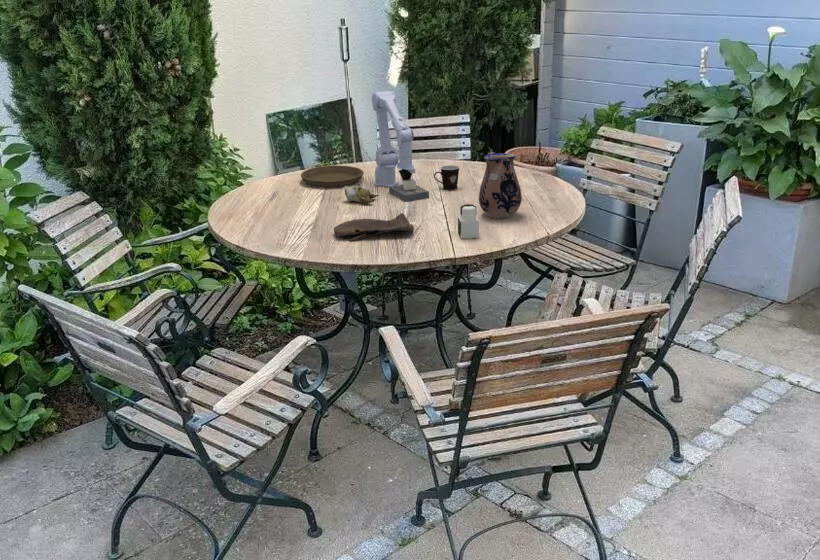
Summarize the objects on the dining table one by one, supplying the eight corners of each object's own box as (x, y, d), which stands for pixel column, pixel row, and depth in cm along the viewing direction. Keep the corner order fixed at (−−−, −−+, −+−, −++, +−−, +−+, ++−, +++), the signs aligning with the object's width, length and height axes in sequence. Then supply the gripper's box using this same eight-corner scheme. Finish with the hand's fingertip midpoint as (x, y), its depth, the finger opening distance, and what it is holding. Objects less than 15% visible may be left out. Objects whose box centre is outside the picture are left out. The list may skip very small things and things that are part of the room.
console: (389, 193, 335) (388, 186, 334) (412, 189, 340) (411, 182, 339) (405, 201, 321) (405, 195, 320) (429, 197, 326) (428, 191, 324)
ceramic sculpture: (347, 179, 326) (379, 182, 323) (347, 197, 329) (379, 200, 327) (340, 185, 316) (373, 188, 314) (340, 204, 320) (373, 207, 317)
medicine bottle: (457, 233, 280) (457, 203, 275) (475, 232, 281) (476, 202, 276) (460, 239, 274) (460, 208, 269) (479, 238, 274) (479, 207, 269)
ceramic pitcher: (494, 224, 288) (495, 163, 278) (466, 211, 305) (466, 153, 296) (529, 217, 295) (531, 157, 286) (500, 204, 313) (501, 147, 303)
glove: (334, 243, 274) (333, 231, 272) (334, 227, 292) (333, 215, 290) (416, 238, 276) (416, 226, 274) (411, 222, 295) (410, 211, 293)
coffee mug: (459, 185, 342) (459, 165, 339) (458, 190, 335) (458, 169, 331) (435, 186, 344) (434, 165, 340) (434, 191, 336) (433, 170, 332)
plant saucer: (376, 177, 362) (375, 168, 360) (338, 193, 338) (337, 183, 336) (327, 171, 378) (327, 162, 376) (288, 185, 354) (287, 176, 352)
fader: (403, 188, 328) (402, 180, 327) (412, 187, 330) (412, 178, 329) (406, 190, 326) (405, 181, 324) (415, 188, 328) (415, 180, 326)
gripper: (390, 154, 329) (391, 183, 335) (404, 160, 317) (405, 190, 323) (404, 152, 332) (405, 180, 338) (419, 158, 320) (419, 187, 326)
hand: (406, 185), depth 330 cm, fingers closed
